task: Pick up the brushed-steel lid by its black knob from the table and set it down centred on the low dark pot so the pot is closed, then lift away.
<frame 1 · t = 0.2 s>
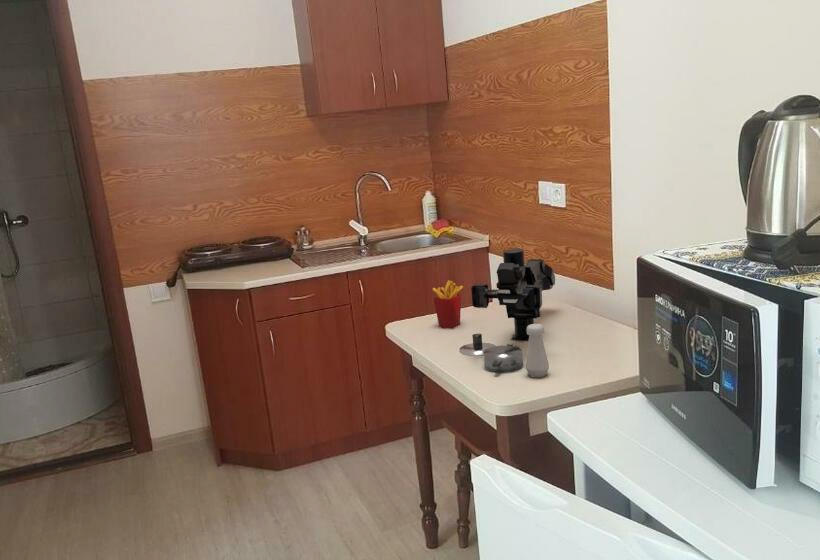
hand: (497, 305, 185), 16 cm above the table, tool horizontal, fingers open, 9 cm apart
salt shaker: (537, 375, 180), on the table
lid: (478, 351, 203), on the table
french fries: (453, 326, 228), on the table
pot: (503, 366, 188), on the table
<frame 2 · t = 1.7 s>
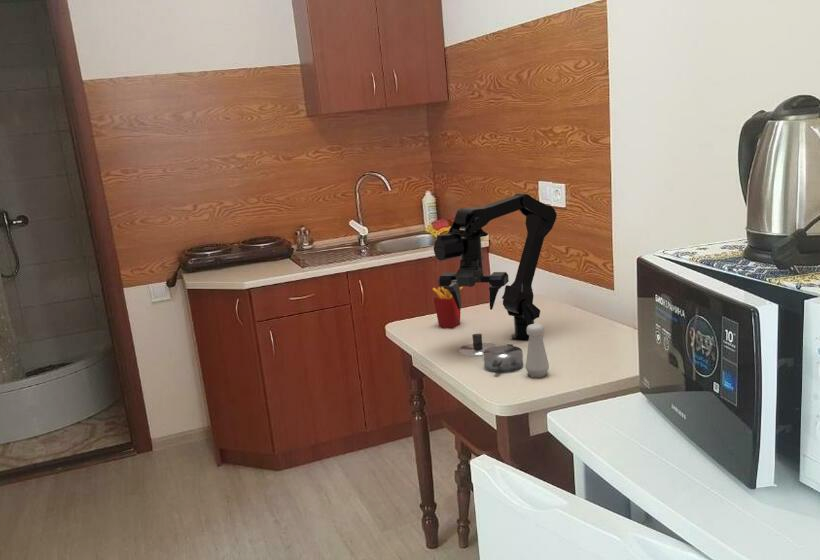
hand: (475, 309, 200), 12 cm above the table, tool pointing down, fingers open, 9 cm apart
nothing on the table moved.
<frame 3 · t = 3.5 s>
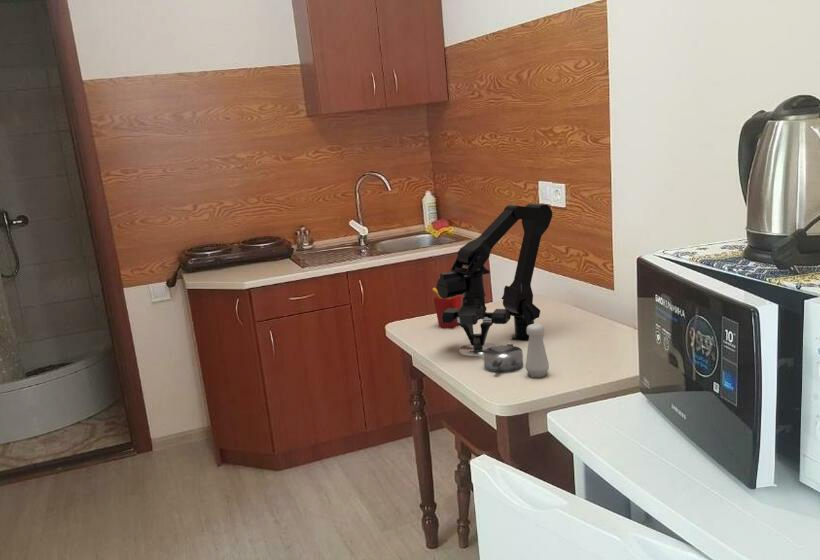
hand: (477, 345, 203), 1 cm above the table, tool pointing down, fingers closed on lid, 3 cm apart
lid: (478, 351, 203), on the table, touching gripper
everything else where it was.
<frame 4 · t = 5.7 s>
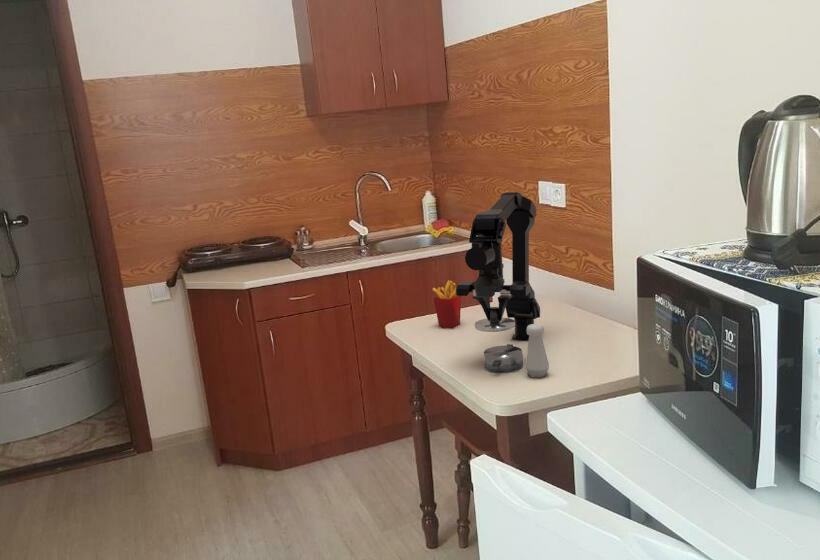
hand: (494, 320, 188), 12 cm above the table, tool pointing down, fingers closed on lid, 3 cm apart
lid: (495, 325, 189), point 10 cm above the table, touching gripper
everything else where it was.
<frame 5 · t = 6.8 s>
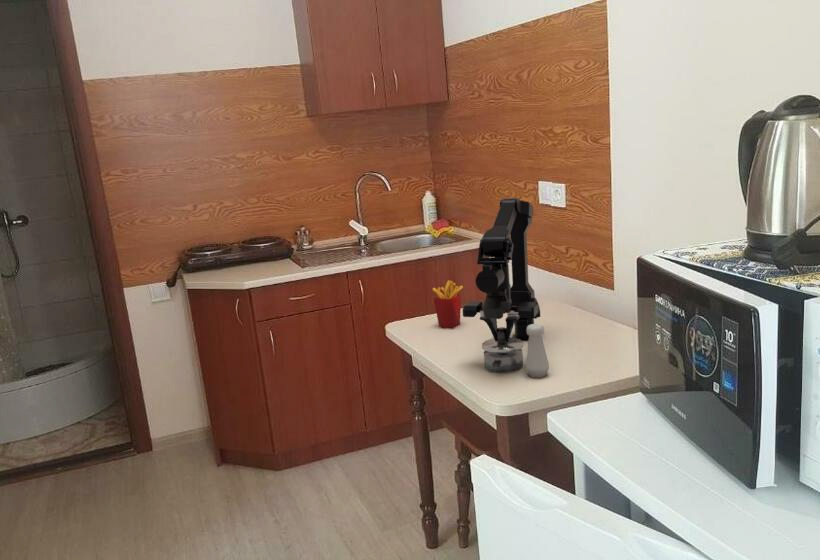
hand: (502, 341, 187), 7 cm above the table, tool pointing down, fingers closed on lid, 3 cm apart
lid: (502, 346, 187), point 5 cm above the table, touching gripper
everything else where it was.
when the fingers open (6 cm above the table, at t = 7.8 s): lid stays where it is, resting on pot.
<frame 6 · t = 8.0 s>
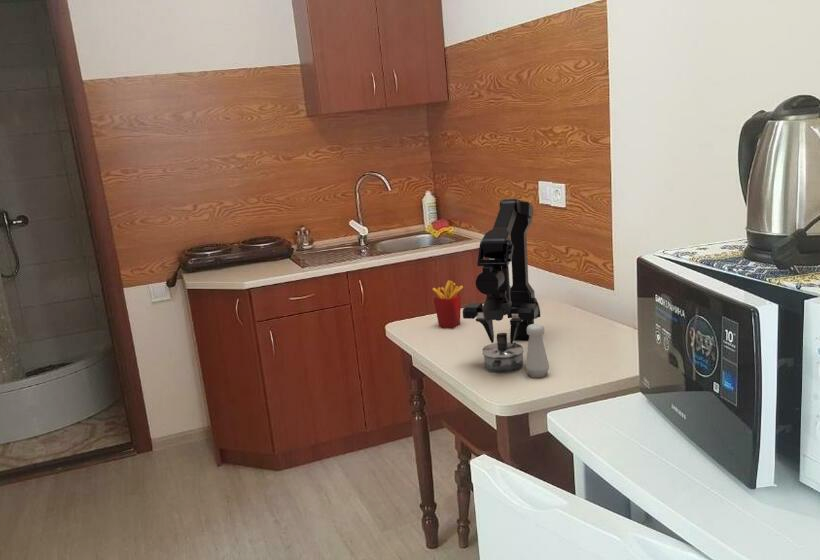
hand: (502, 342, 187), 6 cm above the table, tool pointing down, fingers open, 5 cm apart
lid: (502, 351, 187), point 4 cm above the table, touching pot
everything else where it was.
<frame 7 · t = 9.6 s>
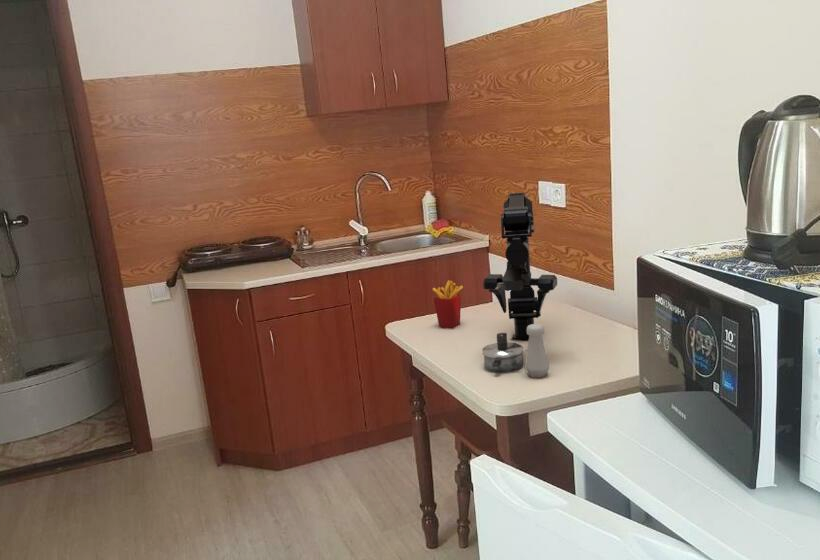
hand: (521, 313, 192), 12 cm above the table, tool pointing down, fingers open, 9 cm apart
nothing on the table moved.
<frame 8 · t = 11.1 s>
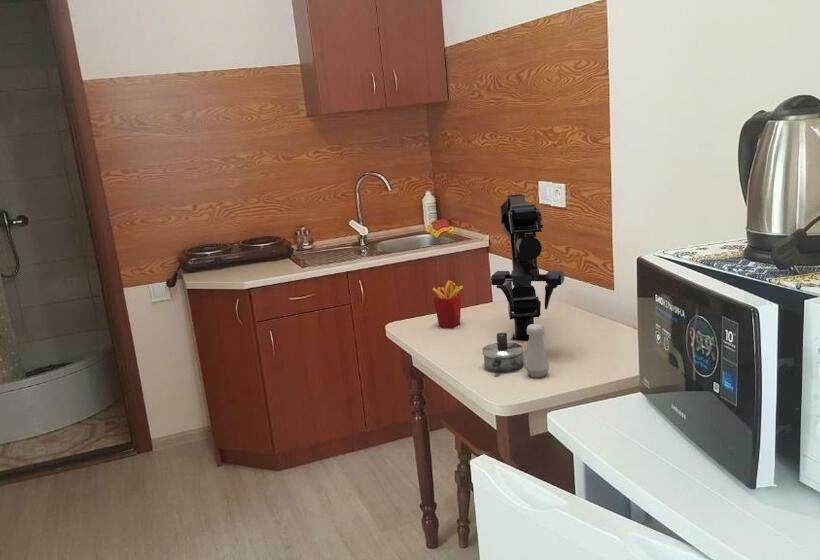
hand: (529, 309, 194), 13 cm above the table, tool pointing down, fingers open, 9 cm apart
nothing on the table moved.
at the end: lid 0.0 cm from the pot (horizontally); lid 0.0 cm off-centre on the pot, point 4.0 cm above the pot's base; lid tilted 0° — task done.
